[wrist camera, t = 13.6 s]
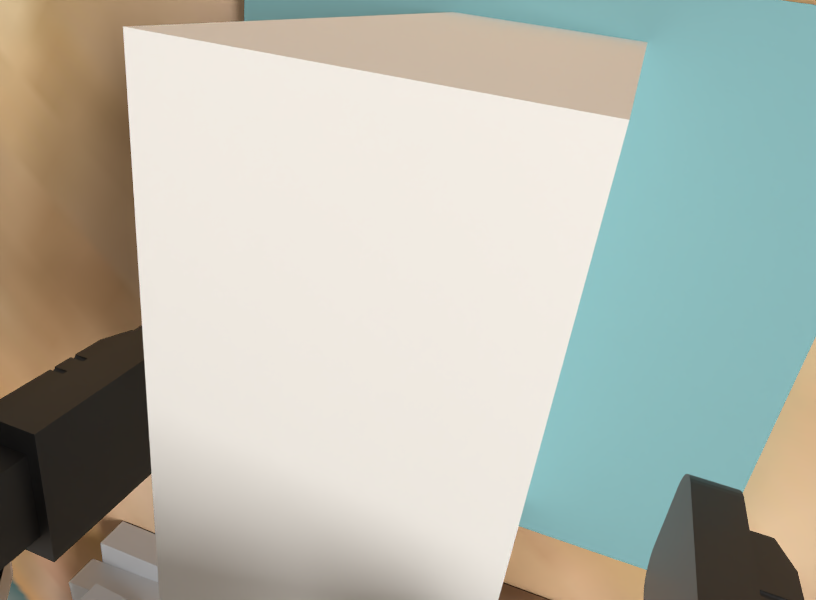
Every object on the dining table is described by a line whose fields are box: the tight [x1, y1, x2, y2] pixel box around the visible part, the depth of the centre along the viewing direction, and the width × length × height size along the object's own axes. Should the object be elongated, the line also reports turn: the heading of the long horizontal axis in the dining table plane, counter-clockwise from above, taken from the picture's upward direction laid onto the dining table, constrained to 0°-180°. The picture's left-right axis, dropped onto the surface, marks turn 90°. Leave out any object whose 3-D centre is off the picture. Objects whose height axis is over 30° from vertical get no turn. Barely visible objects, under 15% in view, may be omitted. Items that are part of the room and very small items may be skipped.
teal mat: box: [244, 0, 816, 570], centre depth 16 cm, size 14×14×1 cm
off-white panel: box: [123, 12, 647, 600], centre depth 12 cm, size 4×12×10 cm, turn 173°
